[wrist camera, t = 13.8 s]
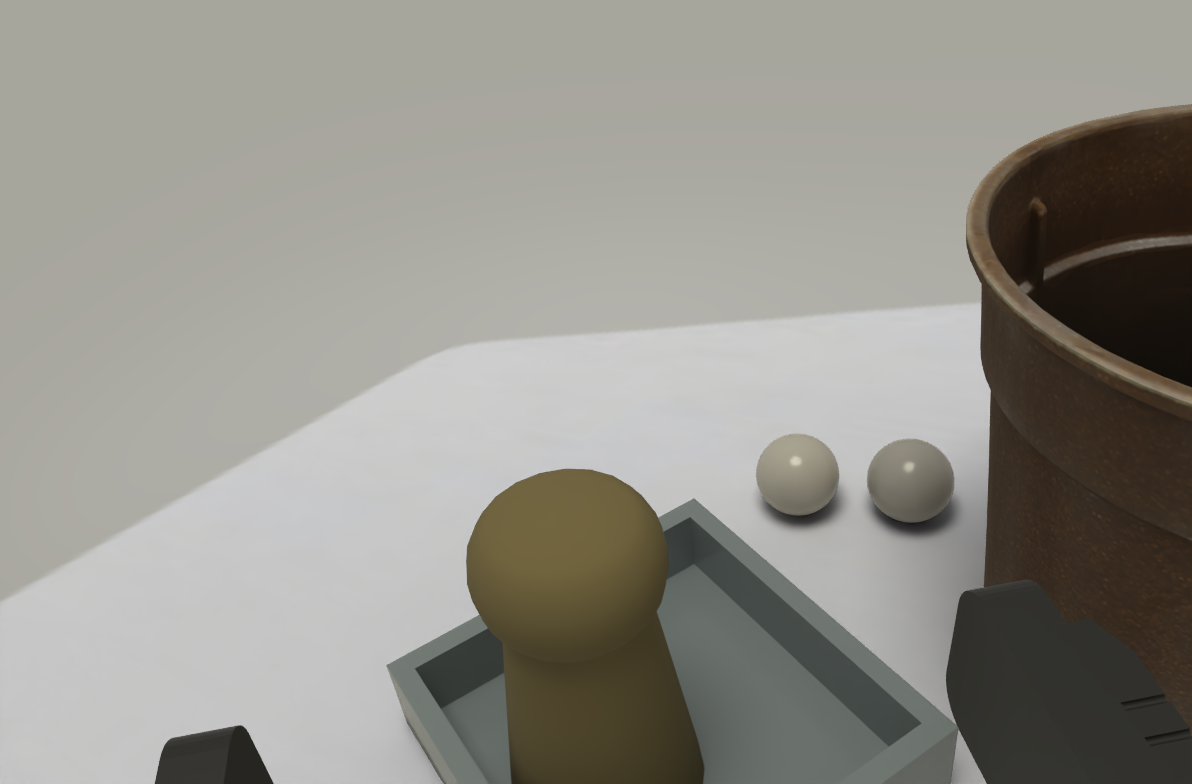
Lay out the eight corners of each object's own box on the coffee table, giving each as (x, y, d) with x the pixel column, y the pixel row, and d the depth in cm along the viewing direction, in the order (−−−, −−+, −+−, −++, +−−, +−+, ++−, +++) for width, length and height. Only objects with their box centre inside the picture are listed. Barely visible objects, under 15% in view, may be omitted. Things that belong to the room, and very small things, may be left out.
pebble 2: (848, 507, 41) (850, 445, 39) (906, 473, 42) (911, 411, 40) (908, 552, 39) (914, 488, 37) (968, 515, 40) (977, 451, 38)
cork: (666, 669, 35) (635, 412, 29) (735, 825, 30) (717, 559, 24) (492, 724, 34) (420, 471, 28) (535, 894, 29) (460, 637, 23)
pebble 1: (740, 501, 42) (738, 440, 40) (800, 467, 43) (800, 406, 41) (793, 544, 40) (793, 482, 38) (855, 508, 41) (857, 445, 39)
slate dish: (407, 722, 35) (386, 665, 33) (699, 556, 40) (694, 498, 38) (603, 1052, 26) (589, 998, 25) (949, 788, 31) (958, 727, 29)
